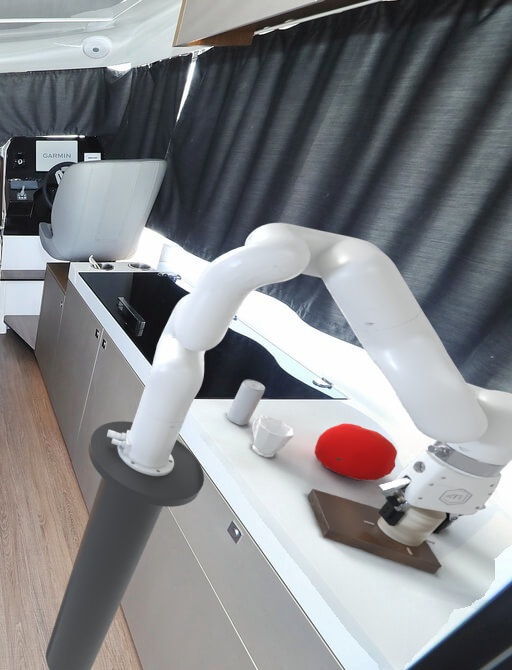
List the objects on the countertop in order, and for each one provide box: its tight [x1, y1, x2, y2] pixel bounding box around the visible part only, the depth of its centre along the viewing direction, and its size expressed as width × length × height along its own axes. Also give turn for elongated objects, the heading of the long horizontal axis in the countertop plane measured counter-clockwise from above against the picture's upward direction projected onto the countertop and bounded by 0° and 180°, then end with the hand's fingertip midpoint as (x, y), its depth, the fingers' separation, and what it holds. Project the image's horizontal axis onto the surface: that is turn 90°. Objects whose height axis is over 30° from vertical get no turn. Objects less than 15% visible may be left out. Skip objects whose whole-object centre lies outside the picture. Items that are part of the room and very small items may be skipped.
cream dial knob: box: [378, 496, 446, 547], centre depth 80 cm, size 6×6×8 cm
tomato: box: [314, 423, 398, 481], centre depth 96 cm, size 13×13×13 cm
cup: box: [251, 415, 295, 458], centre depth 103 cm, size 7×10×8 cm
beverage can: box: [226, 379, 266, 426], centre depth 111 cm, size 5×5×12 cm
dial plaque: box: [307, 488, 443, 575], centre depth 84 cm, size 17×11×3 cm, turn 63°
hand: (407, 522), depth 80 cm, fingers closed on cream dial knob, 6 cm apart
